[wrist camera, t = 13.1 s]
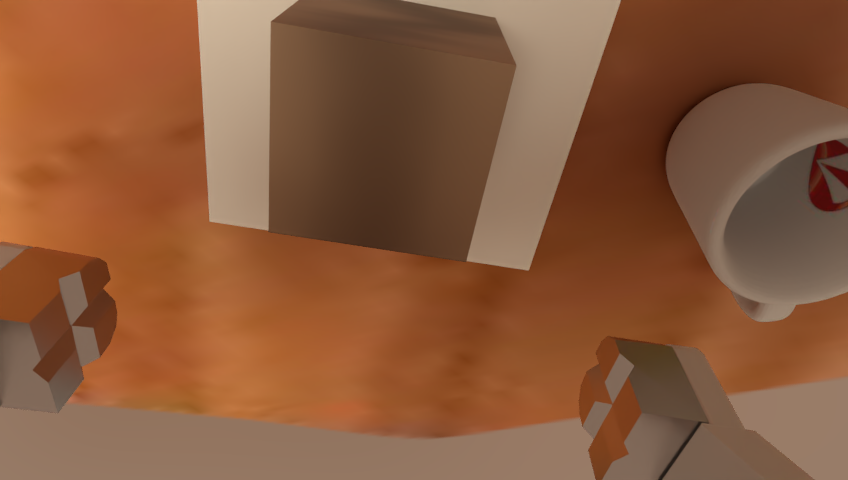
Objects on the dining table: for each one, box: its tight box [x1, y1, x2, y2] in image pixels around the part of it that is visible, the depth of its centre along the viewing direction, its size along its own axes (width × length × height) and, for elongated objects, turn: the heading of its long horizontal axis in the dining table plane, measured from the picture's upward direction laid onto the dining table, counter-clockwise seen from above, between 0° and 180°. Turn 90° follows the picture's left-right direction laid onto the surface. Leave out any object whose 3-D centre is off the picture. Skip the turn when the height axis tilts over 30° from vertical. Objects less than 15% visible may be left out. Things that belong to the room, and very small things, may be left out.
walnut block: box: [268, 0, 517, 262], centre depth 17 cm, size 6×6×6 cm
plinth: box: [197, 0, 621, 271], centre depth 22 cm, size 14×14×6 cm
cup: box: [666, 83, 848, 322], centre depth 24 cm, size 11×8×8 cm
